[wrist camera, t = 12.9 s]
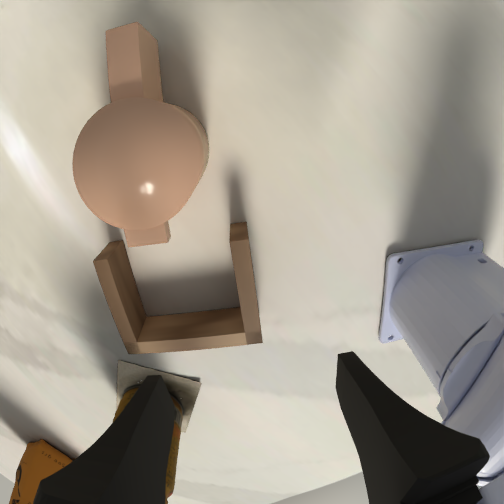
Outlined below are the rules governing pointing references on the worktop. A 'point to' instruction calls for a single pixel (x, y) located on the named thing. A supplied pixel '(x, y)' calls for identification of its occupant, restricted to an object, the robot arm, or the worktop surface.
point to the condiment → (177, 389)
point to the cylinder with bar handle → (138, 145)
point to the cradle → (186, 324)
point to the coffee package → (36, 470)
